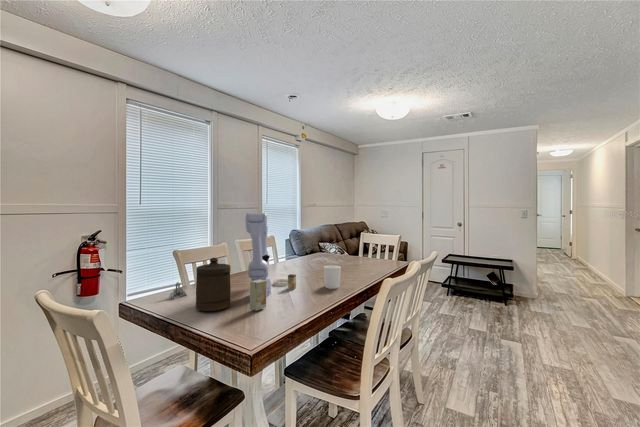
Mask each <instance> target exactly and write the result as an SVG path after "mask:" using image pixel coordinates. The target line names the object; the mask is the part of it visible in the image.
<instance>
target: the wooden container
mask: <svg viewBox="0 0 640 427" xmlns="http://www.w3.org/2000/svg"><path fill="white" fill-rule="evenodd" d="M218 261H219V259H218V258H216V257H211V258H210V259H209V262H210V263H209V264H202V265H199V266H196V285H195V308H196V309H197V310H198V311H203V312H215V311H221V310H224V309H226V308H228V307H230V306H231V265H230V264H227V263H219V262H218Z"/></svg>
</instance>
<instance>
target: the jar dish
mask: <svg viewBox="0 0 640 427" xmlns="http://www.w3.org/2000/svg"><path fill="white" fill-rule="evenodd" d="M272 282H273V285H274V286H275V287H288V278H277V279H275V280H273V281H272Z"/></svg>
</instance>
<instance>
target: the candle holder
mask: <svg viewBox="0 0 640 427" xmlns="http://www.w3.org/2000/svg"><path fill="white" fill-rule="evenodd" d="M341 269H342V266H341V265H335V264H331V265H330V264H328V265H324V266H323V277H324V278H323V279H324V288H326V289H331V290H333V289H334V290H336V289H339V288H340V286H341V271H342V270H341Z"/></svg>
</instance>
